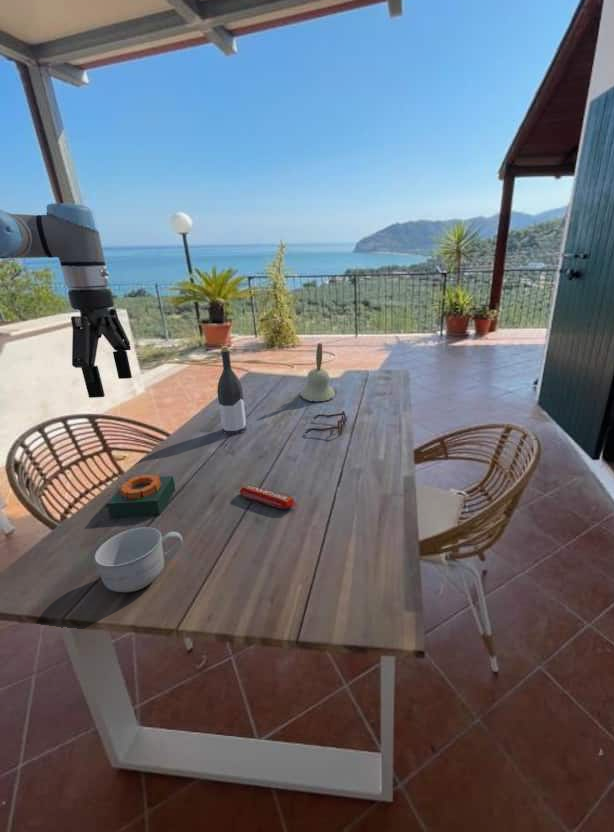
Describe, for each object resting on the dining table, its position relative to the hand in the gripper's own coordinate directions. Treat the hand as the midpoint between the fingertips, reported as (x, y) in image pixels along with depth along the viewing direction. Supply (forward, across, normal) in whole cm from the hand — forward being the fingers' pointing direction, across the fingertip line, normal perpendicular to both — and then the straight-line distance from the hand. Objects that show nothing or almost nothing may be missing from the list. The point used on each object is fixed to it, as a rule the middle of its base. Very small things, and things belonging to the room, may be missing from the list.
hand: (112, 387), depth 87 cm
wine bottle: (+30, +40, -17) cm, 53 cm away
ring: (+26, -1, -2) cm, 26 cm away
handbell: (+30, +72, -47) cm, 91 cm away
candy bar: (+30, -5, -32) cm, 44 cm away
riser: (+30, -1, -2) cm, 30 cm away
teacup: (+30, -26, -12) cm, 42 cm away
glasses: (+30, +38, -48) cm, 69 cm away
